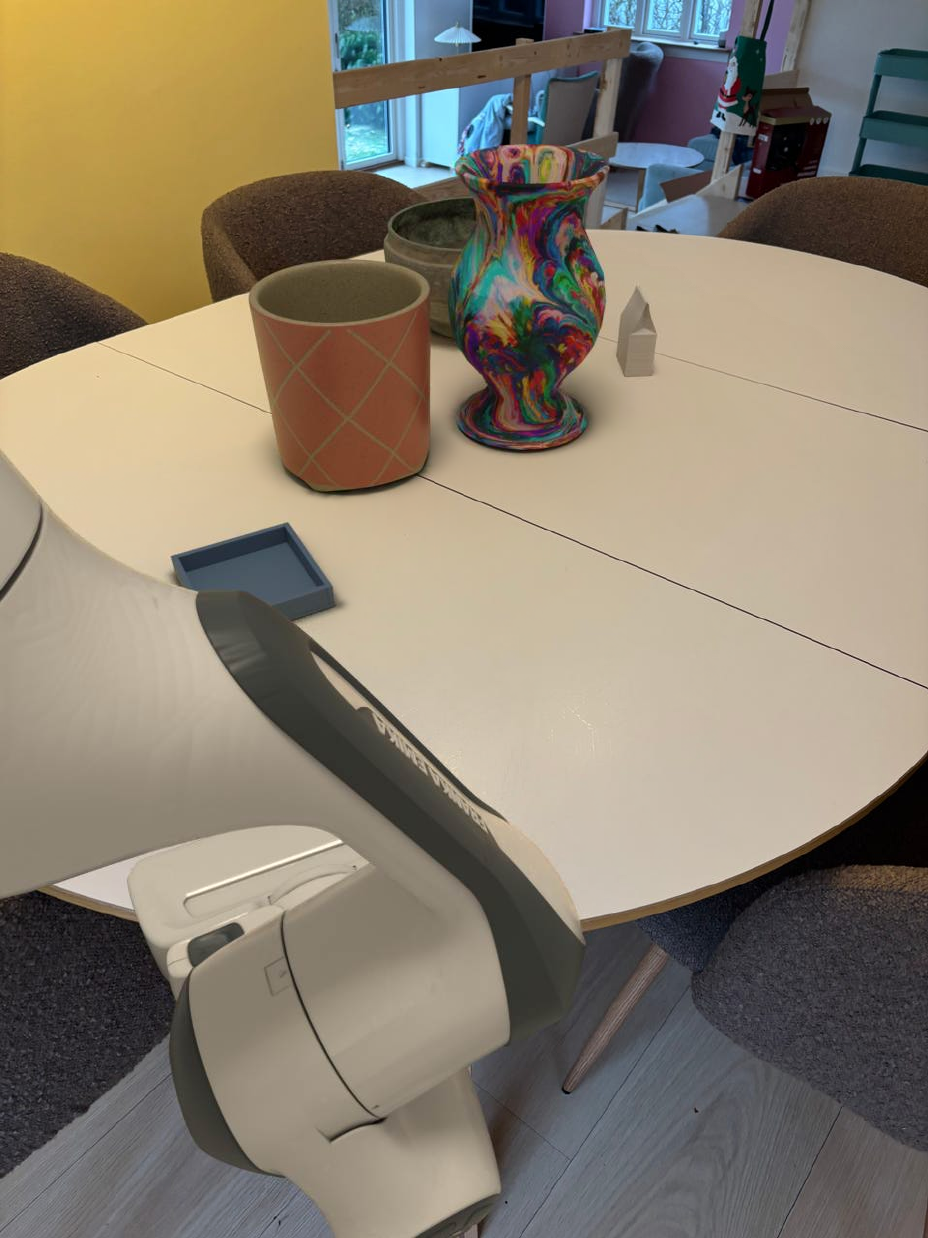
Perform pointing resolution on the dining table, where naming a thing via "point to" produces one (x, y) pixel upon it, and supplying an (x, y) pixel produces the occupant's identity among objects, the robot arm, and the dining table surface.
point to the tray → (260, 570)
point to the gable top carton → (636, 337)
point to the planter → (346, 369)
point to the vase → (527, 291)
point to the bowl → (432, 247)
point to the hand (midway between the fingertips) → (272, 773)
